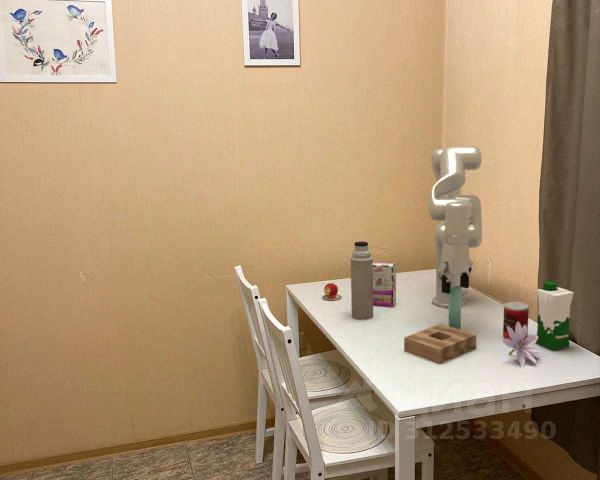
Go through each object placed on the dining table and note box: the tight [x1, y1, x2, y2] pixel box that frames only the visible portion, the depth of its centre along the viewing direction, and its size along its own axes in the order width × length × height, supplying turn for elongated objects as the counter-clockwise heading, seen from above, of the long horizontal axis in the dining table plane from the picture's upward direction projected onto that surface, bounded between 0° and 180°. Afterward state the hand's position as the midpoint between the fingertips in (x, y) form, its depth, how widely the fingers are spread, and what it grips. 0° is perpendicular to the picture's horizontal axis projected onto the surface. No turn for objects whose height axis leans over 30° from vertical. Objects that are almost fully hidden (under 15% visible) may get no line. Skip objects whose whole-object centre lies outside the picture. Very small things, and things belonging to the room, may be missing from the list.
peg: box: [447, 286, 462, 330], centre depth 209 cm, size 4×4×16 cm
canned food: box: [502, 301, 530, 341], centre depth 204 cm, size 8×8×11 cm
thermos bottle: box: [350, 241, 374, 321], centre depth 228 cm, size 8×8×28 cm
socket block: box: [403, 323, 477, 364], centre depth 197 cm, size 18×14×4 cm
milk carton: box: [535, 281, 575, 352], centre depth 195 cm, size 9×9×20 cm
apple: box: [321, 282, 342, 301], centre depth 253 cm, size 8×8×6 cm
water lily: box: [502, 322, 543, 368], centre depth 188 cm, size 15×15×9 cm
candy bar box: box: [373, 261, 397, 308], centre depth 242 cm, size 11×5×16 cm, turn 68°
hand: (455, 290), depth 207 cm, fingers open, 9 cm apart
